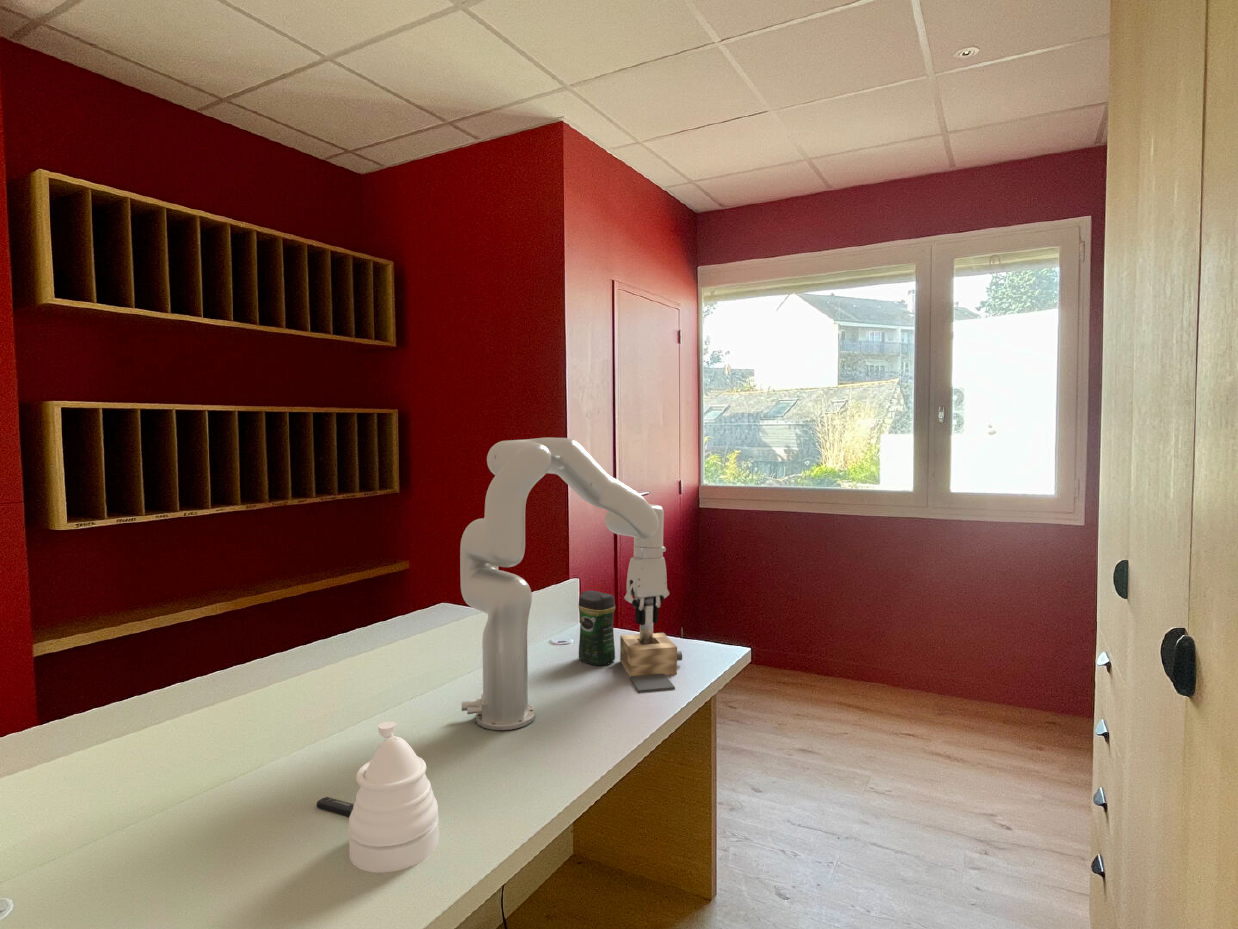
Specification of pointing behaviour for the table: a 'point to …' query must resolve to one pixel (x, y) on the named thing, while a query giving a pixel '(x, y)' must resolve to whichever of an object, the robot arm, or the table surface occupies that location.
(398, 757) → the honey pot
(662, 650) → the block
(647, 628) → the metal cylinder
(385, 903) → the table surface
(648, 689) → the mat
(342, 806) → the usb stick
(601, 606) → the coffee jar
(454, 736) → the table surface
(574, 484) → the robot arm
